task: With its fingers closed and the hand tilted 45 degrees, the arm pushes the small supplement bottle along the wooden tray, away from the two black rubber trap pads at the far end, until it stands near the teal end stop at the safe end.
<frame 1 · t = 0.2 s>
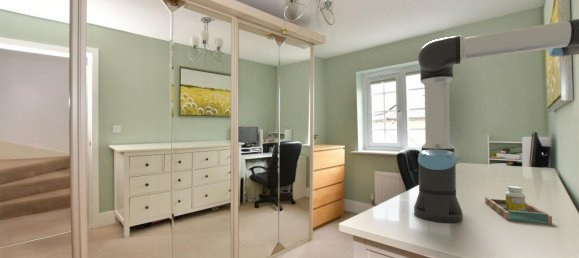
wooden tray: (514, 212, 95), on the table
supplement bottle: (515, 213, 95), resting in wooden tray
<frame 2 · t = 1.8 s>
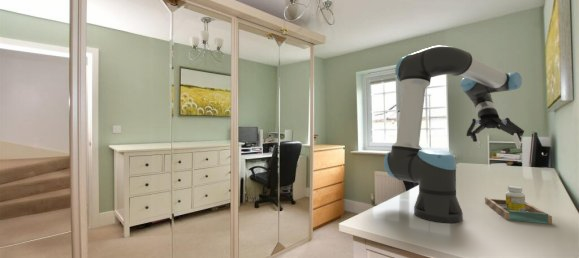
hand: (498, 146, 108), 24 cm above the table, tool tilted 45°, fingers open, 13 cm apart
nothing on the table moved.
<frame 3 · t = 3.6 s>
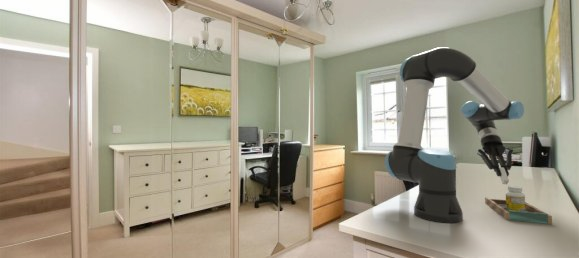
hand: (505, 182, 104), 10 cm above the table, tool tilted 45°, fingers closed
nothing on the table moved.
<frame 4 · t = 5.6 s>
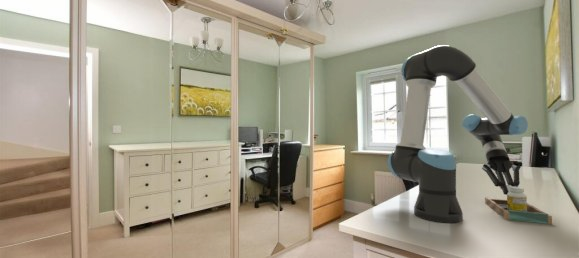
hand: (513, 201, 97), 4 cm above the table, tool tilted 45°, fingers closed
supplement bottle: (517, 214, 94), resting in wooden tray, touching gripper
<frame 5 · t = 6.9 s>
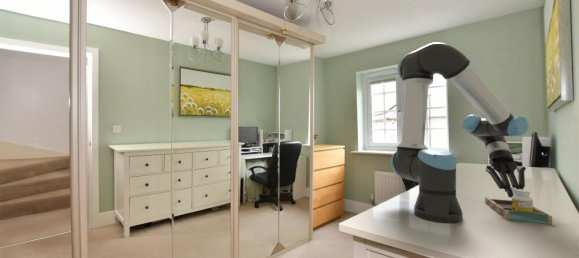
hand: (518, 204, 93), 4 cm above the table, tool tilted 45°, fingers closed
supplement bottle: (522, 218, 89), resting in wooden tray, touching gripper
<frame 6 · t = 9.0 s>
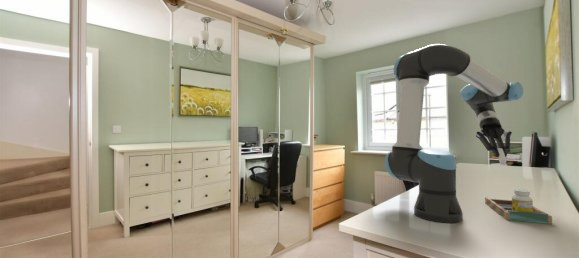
hand: (503, 162, 103), 18 cm above the table, tool tilted 45°, fingers closed
supplement bottle: (522, 218, 89), resting in wooden tray
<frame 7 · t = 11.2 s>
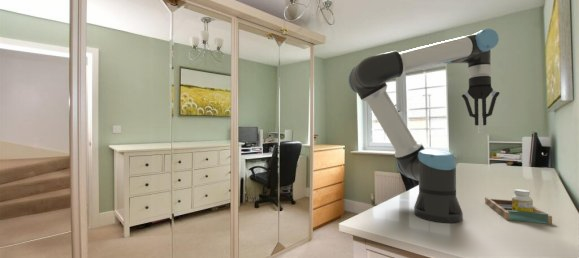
hand: (480, 133, 107), 29 cm above the table, tool pointing down, fingers closed
nothing on the table moved.
at the end: supplement bottle inside the target area (0.2 cm from its centre), resting in wooden tray; supplement bottle tilted 0°; the gripper is holding nothing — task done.
